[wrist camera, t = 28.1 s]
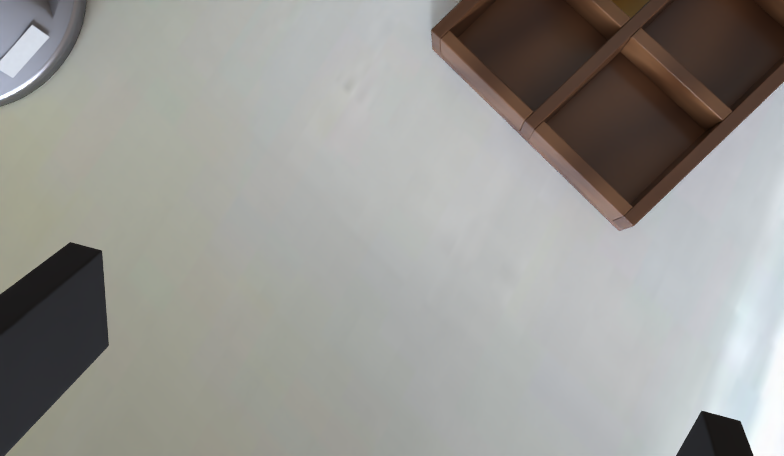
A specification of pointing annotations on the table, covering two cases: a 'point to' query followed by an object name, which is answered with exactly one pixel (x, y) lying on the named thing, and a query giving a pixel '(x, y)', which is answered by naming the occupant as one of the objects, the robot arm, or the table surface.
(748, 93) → the tray
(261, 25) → the table surface
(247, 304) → the table surface
